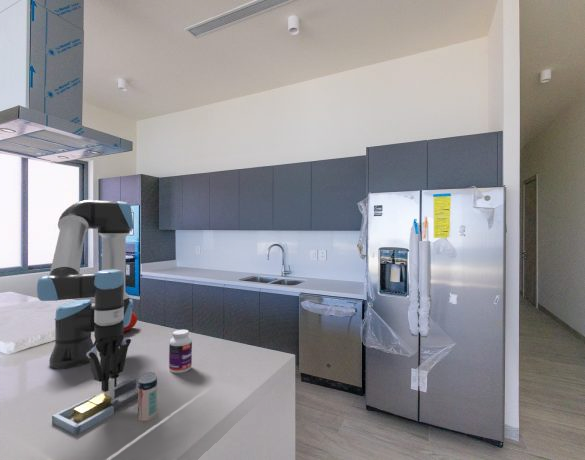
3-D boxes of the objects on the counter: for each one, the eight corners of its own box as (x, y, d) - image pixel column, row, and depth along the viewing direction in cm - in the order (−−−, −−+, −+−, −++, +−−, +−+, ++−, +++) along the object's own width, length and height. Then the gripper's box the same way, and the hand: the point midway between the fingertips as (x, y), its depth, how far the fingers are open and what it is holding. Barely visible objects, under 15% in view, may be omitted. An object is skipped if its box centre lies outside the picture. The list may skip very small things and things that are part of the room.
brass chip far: (88, 410, 87) (88, 400, 86) (102, 403, 90) (102, 393, 90) (97, 414, 85) (97, 404, 85) (111, 407, 88) (111, 397, 88)
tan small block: (73, 419, 83) (73, 409, 83) (88, 411, 87) (88, 401, 87) (82, 424, 81) (82, 413, 81) (97, 415, 85) (97, 405, 85)
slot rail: (93, 404, 91) (93, 396, 91) (132, 384, 102) (132, 377, 102) (114, 413, 86) (114, 405, 86) (152, 391, 98) (152, 384, 98)
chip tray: (52, 424, 81) (52, 415, 81) (90, 405, 90) (90, 396, 90) (75, 437, 77) (76, 427, 77) (113, 415, 86) (113, 406, 86)
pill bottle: (184, 376, 109) (184, 336, 109) (164, 373, 110) (164, 334, 110) (195, 366, 117) (196, 329, 116) (177, 363, 118) (177, 327, 118)
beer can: (142, 412, 87) (142, 371, 87) (159, 411, 87) (159, 371, 87) (135, 423, 82) (135, 379, 82) (152, 422, 83) (153, 379, 83)
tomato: (96, 332, 153) (96, 312, 153) (130, 324, 165) (130, 306, 165) (106, 339, 144) (107, 318, 143) (141, 330, 156) (142, 311, 156)
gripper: (94, 330, 82) (94, 415, 82) (137, 317, 94) (137, 392, 94) (78, 326, 85) (78, 408, 86) (121, 314, 97) (121, 386, 97)
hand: (109, 399), depth 90 cm, fingers closed
